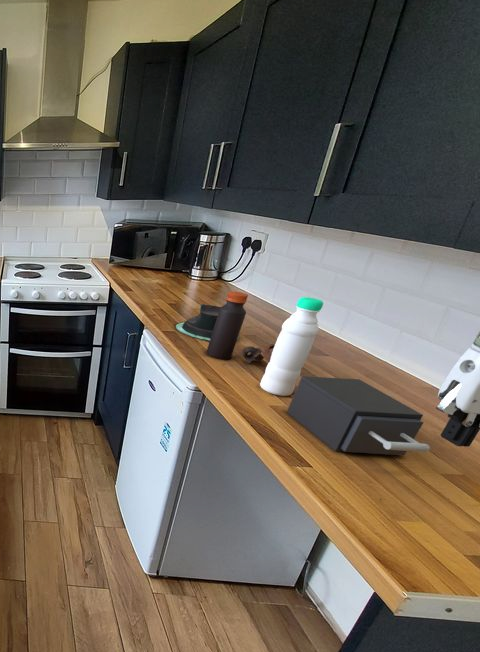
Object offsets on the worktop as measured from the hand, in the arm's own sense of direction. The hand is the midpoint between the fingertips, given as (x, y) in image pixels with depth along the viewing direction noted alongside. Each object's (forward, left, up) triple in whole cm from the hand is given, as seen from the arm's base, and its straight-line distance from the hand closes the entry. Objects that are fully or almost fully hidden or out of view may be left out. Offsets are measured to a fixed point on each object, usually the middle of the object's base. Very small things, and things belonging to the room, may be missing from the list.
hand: (454, 441), depth 70 cm
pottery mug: (+25, -43, -10) cm, 50 cm away
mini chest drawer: (+9, -9, -9) cm, 15 cm away
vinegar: (+36, -45, -10) cm, 58 cm away
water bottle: (+22, -28, -10) cm, 37 cm away
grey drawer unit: (+11, -13, -10) cm, 19 cm away
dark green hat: (+41, -67, -10) cm, 79 cm away
